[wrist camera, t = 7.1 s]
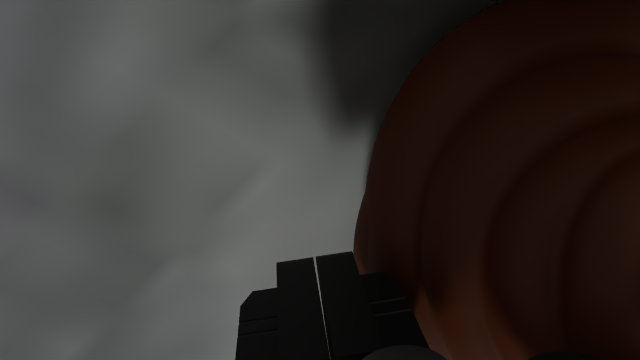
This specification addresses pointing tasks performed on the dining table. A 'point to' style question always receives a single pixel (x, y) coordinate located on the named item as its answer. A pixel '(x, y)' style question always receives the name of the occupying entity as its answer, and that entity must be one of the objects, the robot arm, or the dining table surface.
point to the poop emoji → (516, 184)
